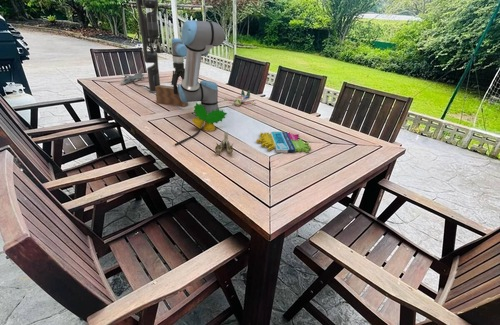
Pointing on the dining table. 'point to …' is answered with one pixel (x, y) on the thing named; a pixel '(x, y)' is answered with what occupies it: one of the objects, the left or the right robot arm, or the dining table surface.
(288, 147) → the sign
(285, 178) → the dining table surface
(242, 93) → the toy
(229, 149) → the jawbone
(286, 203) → the dining table surface
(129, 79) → the airplane
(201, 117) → the ornament
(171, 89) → the box
